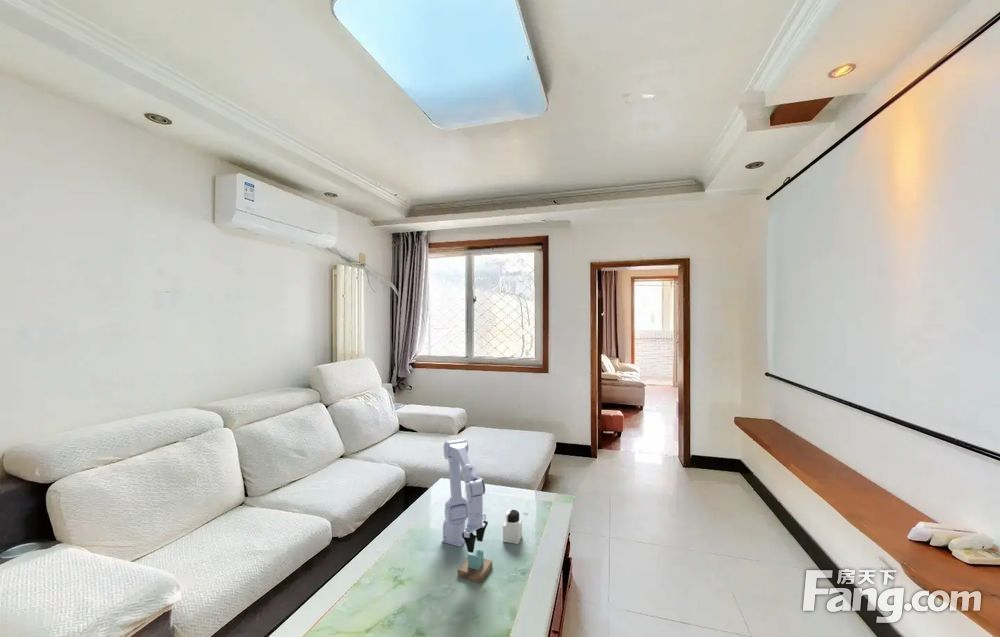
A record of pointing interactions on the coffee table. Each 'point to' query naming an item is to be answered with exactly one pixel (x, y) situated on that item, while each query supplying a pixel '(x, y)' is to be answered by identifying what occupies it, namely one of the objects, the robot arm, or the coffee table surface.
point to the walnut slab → (475, 571)
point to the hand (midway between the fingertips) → (475, 546)
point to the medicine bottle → (512, 527)
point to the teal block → (475, 559)
